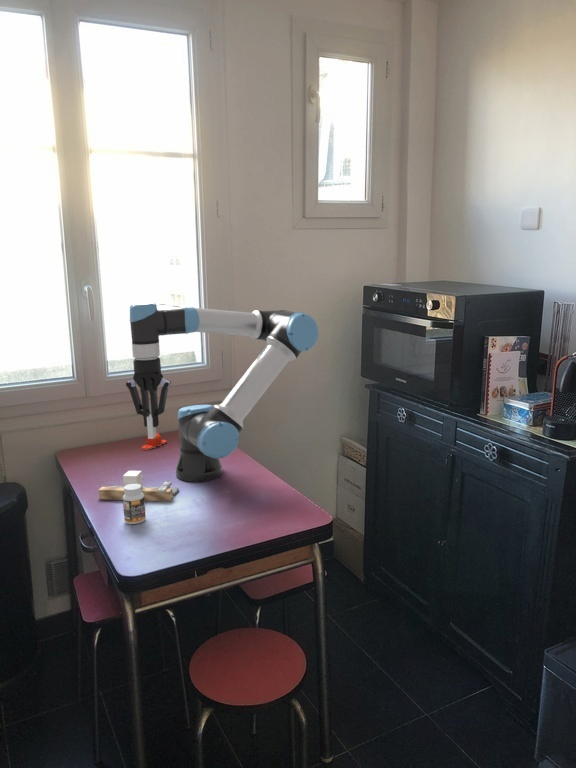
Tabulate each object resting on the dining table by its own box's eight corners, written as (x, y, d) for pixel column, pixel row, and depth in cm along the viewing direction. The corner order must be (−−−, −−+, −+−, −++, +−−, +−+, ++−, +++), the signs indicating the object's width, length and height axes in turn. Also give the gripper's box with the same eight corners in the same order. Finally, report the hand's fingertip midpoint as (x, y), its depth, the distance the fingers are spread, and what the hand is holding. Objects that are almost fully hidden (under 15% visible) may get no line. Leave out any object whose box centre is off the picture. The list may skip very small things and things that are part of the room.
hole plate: (178, 490, 193) (178, 487, 192) (174, 496, 188) (174, 492, 188) (110, 488, 195) (110, 485, 195) (104, 494, 191) (104, 490, 191)
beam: (172, 498, 187) (172, 488, 186) (170, 501, 184) (169, 491, 184) (102, 495, 190) (102, 486, 189) (99, 499, 187) (98, 489, 187)
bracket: (147, 451, 232) (146, 439, 230) (139, 450, 234) (138, 437, 233) (168, 443, 241) (167, 431, 240) (161, 442, 243) (160, 429, 242)
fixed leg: (172, 488, 191) (171, 481, 190) (164, 497, 184) (163, 490, 183) (165, 488, 191) (165, 481, 191) (158, 497, 184) (157, 490, 184)
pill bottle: (135, 526, 168) (132, 492, 166) (120, 522, 171) (117, 488, 169) (150, 518, 173) (147, 485, 170) (135, 514, 176) (132, 481, 173)
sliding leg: (147, 490, 192) (145, 467, 190) (138, 500, 185) (136, 476, 183) (134, 490, 193) (132, 466, 191) (125, 500, 185) (123, 475, 184)
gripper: (172, 355, 180) (177, 434, 185) (129, 355, 182) (135, 433, 187) (164, 360, 173) (169, 441, 178) (119, 359, 174) (125, 440, 179)
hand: (152, 437), depth 182 cm, fingers closed
